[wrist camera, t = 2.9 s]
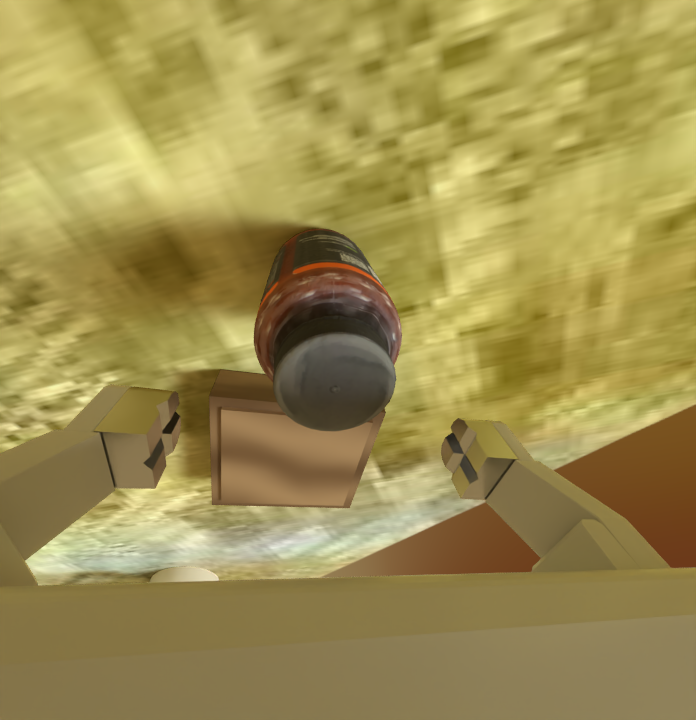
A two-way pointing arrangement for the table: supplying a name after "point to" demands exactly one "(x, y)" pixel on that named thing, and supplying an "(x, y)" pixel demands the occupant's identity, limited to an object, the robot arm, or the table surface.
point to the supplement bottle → (327, 333)
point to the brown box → (279, 450)
